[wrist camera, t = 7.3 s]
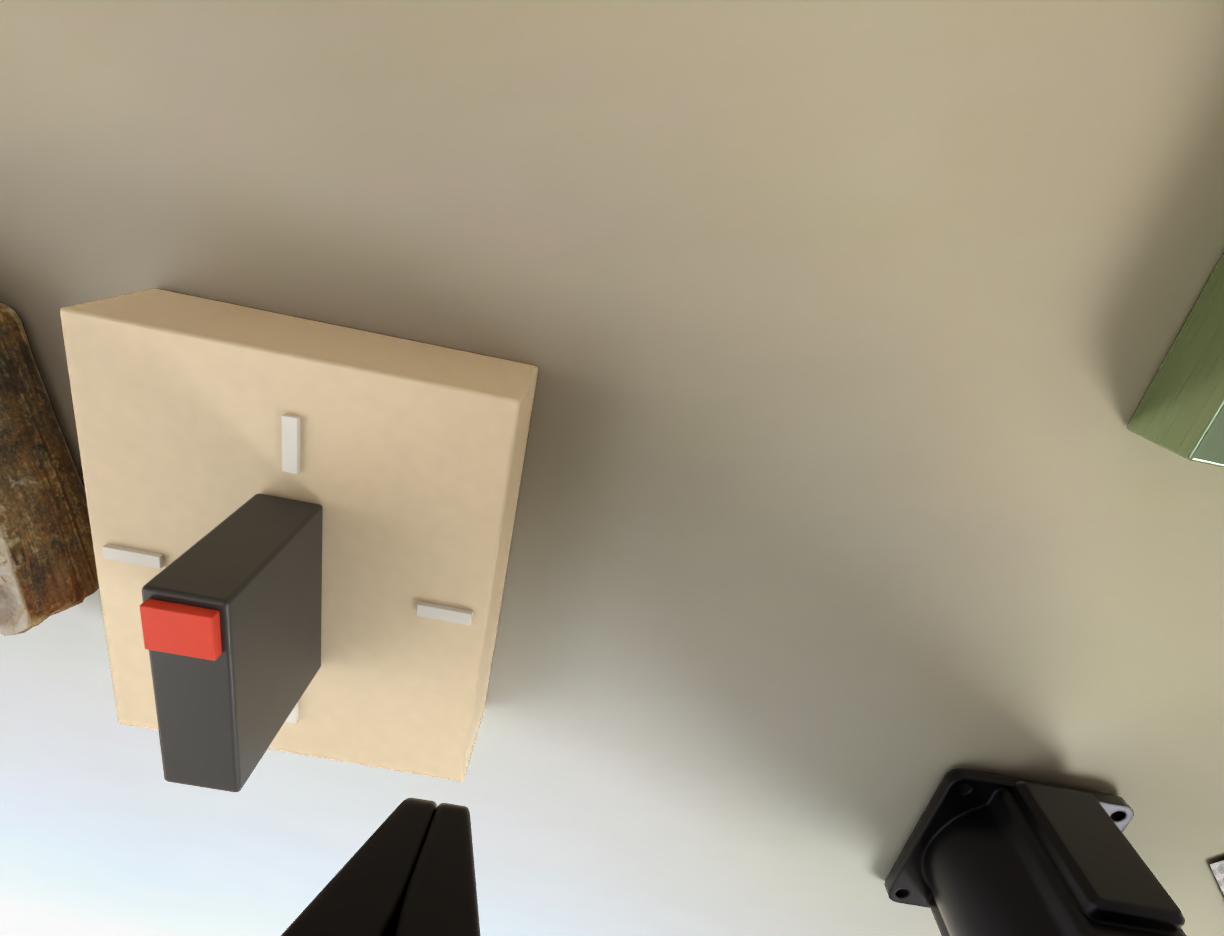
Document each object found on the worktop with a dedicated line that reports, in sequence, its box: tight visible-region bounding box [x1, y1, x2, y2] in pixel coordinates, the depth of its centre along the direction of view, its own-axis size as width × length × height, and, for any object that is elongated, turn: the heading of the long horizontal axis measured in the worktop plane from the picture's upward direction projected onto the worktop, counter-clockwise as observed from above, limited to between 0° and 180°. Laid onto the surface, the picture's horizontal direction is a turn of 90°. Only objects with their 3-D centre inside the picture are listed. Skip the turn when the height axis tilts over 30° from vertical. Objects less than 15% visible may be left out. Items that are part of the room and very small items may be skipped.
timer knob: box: [140, 494, 323, 792], centre depth 14 cm, size 5×2×4 cm, turn 169°
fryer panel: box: [60, 288, 538, 781], centre depth 18 cm, size 12×10×3 cm
